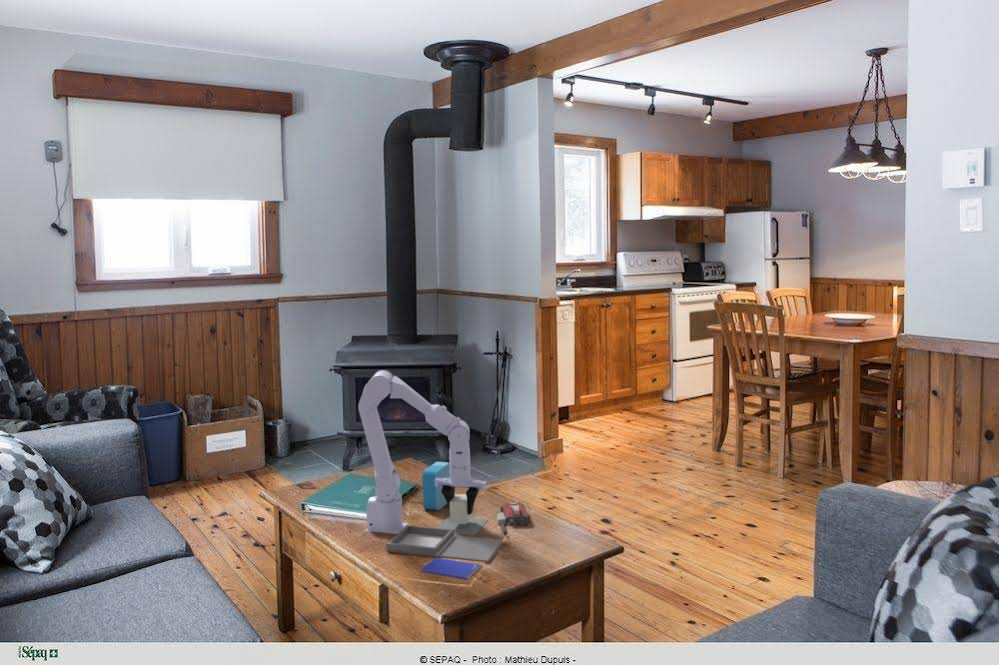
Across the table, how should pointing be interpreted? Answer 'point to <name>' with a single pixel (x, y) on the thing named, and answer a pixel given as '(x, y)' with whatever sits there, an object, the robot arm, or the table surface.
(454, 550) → the equipment case
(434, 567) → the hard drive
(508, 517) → the walkie-talkie
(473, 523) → the slate mat
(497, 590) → the table surface
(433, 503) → the blue block
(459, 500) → the block
